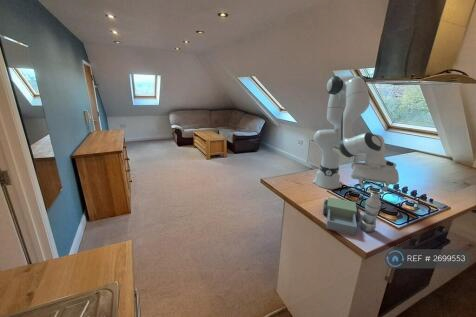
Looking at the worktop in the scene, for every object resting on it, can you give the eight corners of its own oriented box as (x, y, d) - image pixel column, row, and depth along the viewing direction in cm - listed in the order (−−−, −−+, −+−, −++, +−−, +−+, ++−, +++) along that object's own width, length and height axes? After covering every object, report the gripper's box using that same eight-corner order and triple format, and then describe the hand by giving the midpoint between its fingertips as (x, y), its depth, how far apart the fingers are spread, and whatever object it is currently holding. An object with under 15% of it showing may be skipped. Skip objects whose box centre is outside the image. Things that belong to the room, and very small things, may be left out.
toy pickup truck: (323, 205, 129) (325, 196, 127) (356, 211, 123) (358, 202, 121) (321, 227, 109) (323, 217, 107) (360, 236, 103) (363, 225, 101)
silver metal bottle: (358, 230, 107) (367, 194, 101) (360, 223, 113) (368, 188, 106) (374, 235, 104) (383, 198, 97) (375, 228, 109) (384, 192, 103)
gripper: (352, 158, 115) (350, 183, 109) (399, 164, 107) (400, 190, 102) (350, 164, 120) (348, 187, 114) (395, 169, 112) (395, 195, 107)
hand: (373, 189), depth 108 cm, fingers open, 8 cm apart
